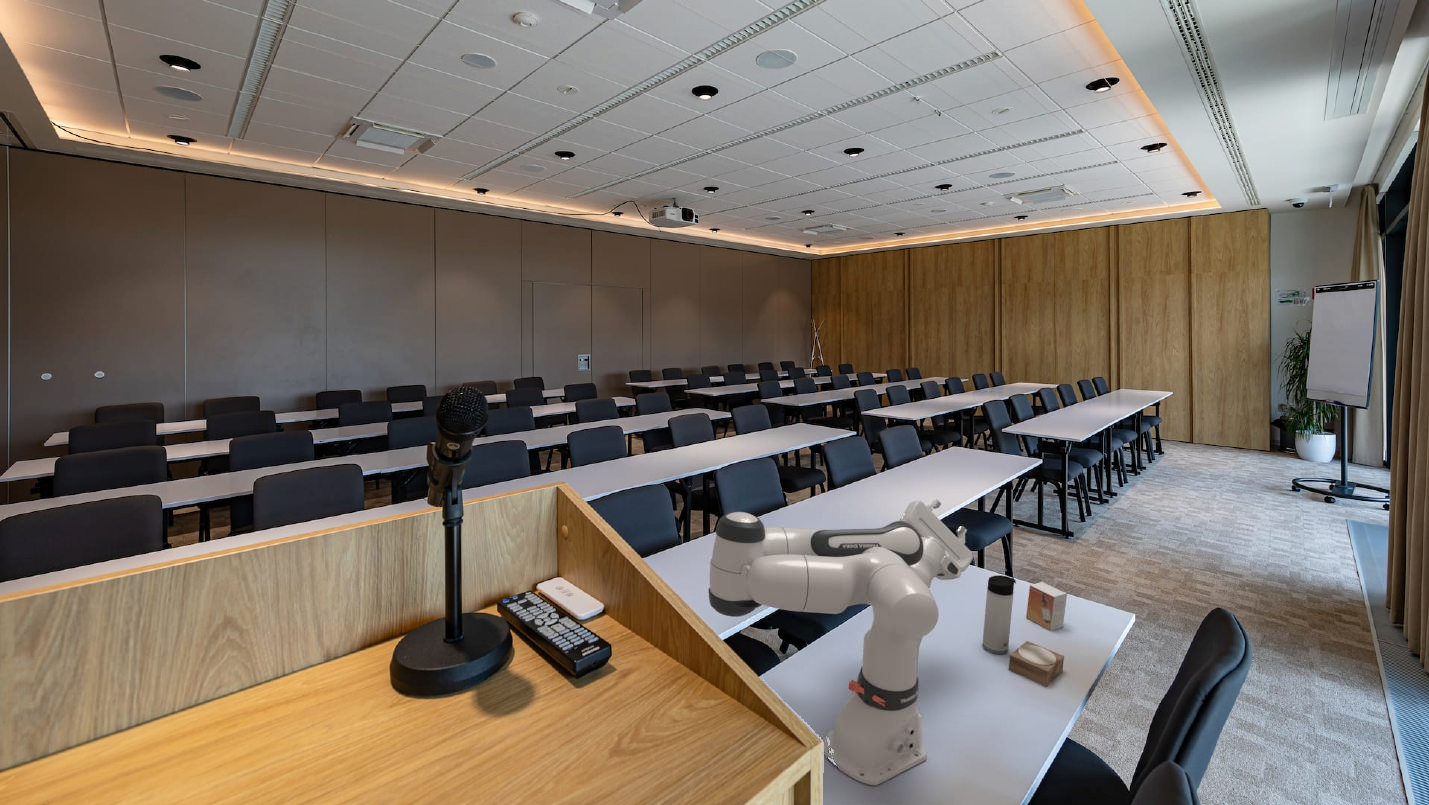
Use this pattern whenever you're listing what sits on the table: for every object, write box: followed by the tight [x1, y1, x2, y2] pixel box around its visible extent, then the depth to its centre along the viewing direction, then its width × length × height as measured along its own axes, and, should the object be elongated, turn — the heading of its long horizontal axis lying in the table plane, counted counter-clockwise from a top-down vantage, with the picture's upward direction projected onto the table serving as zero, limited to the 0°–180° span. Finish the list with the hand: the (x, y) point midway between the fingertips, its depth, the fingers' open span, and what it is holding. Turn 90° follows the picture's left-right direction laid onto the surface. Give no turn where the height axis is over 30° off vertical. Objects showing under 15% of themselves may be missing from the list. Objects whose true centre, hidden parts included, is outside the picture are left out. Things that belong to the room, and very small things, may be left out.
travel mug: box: [981, 574, 1017, 655], centre depth 161 cm, size 6×7×20 cm
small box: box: [1025, 581, 1068, 632], centre depth 175 cm, size 8×6×10 cm
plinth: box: [1008, 640, 1065, 687], centre depth 153 cm, size 10×9×4 cm
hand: (950, 514), depth 156 cm, fingers open, 8 cm apart
